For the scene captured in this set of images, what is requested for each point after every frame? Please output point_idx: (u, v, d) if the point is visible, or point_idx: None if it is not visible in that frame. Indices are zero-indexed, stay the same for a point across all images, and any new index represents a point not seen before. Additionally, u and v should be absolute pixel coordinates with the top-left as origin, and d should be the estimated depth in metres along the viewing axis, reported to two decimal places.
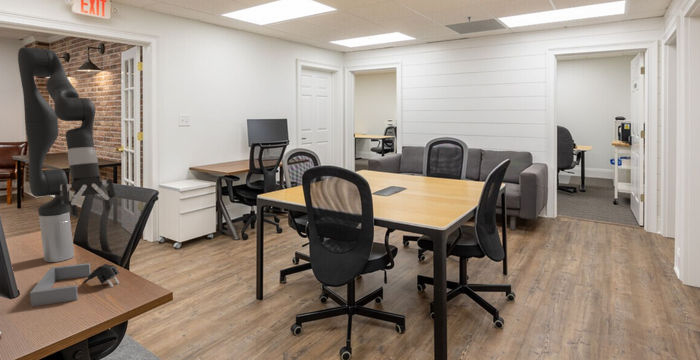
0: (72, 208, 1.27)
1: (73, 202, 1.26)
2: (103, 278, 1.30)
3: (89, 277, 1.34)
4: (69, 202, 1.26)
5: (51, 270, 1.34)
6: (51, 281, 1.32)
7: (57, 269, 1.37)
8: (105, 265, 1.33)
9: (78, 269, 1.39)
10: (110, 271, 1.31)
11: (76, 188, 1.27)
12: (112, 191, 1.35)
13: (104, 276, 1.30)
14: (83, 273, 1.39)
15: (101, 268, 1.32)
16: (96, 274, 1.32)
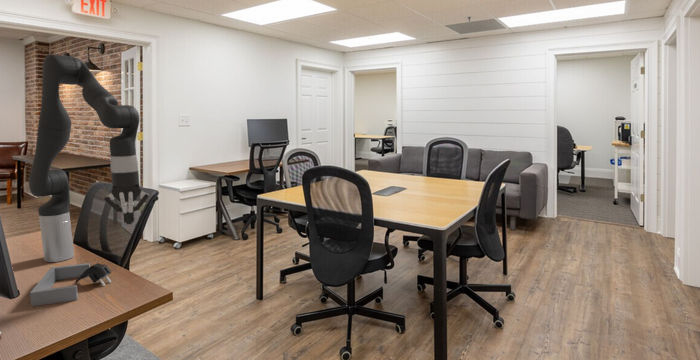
0: (124, 215, 1.33)
1: (125, 210, 1.32)
2: (95, 277, 1.31)
3: (81, 276, 1.34)
4: (122, 210, 1.32)
5: (51, 270, 1.34)
6: (51, 281, 1.32)
7: (57, 269, 1.37)
8: (97, 264, 1.33)
9: (78, 269, 1.39)
10: (102, 270, 1.32)
11: (117, 198, 1.31)
12: (139, 205, 1.33)
13: (96, 275, 1.31)
14: None
15: (94, 267, 1.32)
16: (88, 273, 1.33)
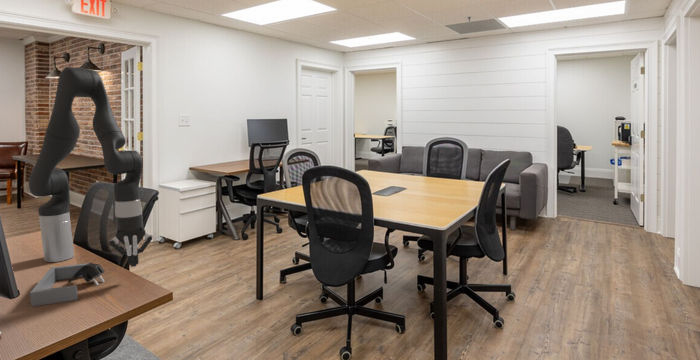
0: (129, 258, 1.35)
1: (129, 253, 1.34)
2: (88, 277, 1.31)
3: (74, 276, 1.35)
4: (126, 253, 1.34)
5: (51, 270, 1.34)
6: (51, 281, 1.32)
7: (57, 269, 1.37)
8: (90, 264, 1.34)
9: (78, 269, 1.39)
10: (95, 270, 1.32)
11: (122, 242, 1.33)
12: (143, 247, 1.36)
13: (89, 275, 1.32)
14: None
15: (87, 267, 1.33)
16: (81, 273, 1.34)
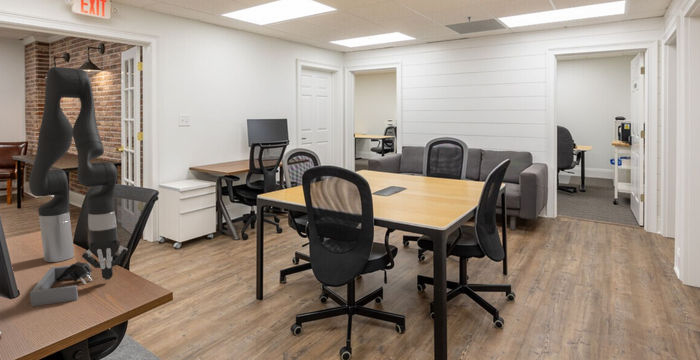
0: (102, 271, 1.33)
1: (103, 266, 1.32)
2: (76, 276, 1.32)
3: (62, 275, 1.35)
4: (100, 265, 1.32)
5: (51, 270, 1.34)
6: (51, 281, 1.32)
7: (57, 269, 1.37)
8: (78, 263, 1.35)
9: None
10: (83, 269, 1.33)
11: (95, 255, 1.31)
12: (118, 260, 1.34)
13: (77, 274, 1.32)
14: None
15: (74, 266, 1.33)
16: (69, 272, 1.34)
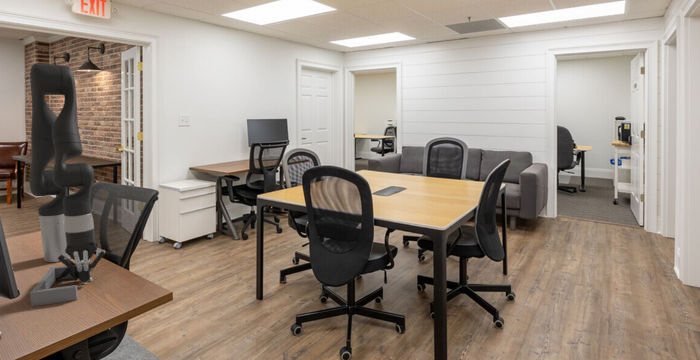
0: (79, 274, 1.30)
1: (80, 269, 1.30)
2: (76, 275, 1.32)
3: (62, 275, 1.35)
4: (77, 268, 1.30)
5: (51, 270, 1.34)
6: (51, 281, 1.32)
7: (57, 269, 1.37)
8: None
9: None
10: None
11: (72, 257, 1.29)
12: (95, 263, 1.31)
13: (77, 273, 1.32)
14: None
15: None
16: (69, 272, 1.34)
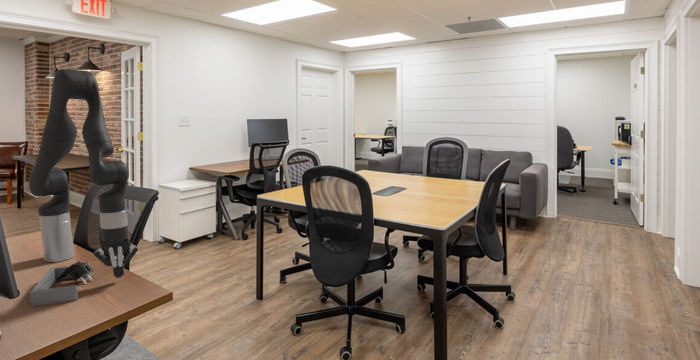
0: (114, 269, 1.34)
1: (114, 264, 1.33)
2: (76, 275, 1.32)
3: (62, 275, 1.35)
4: (111, 264, 1.33)
5: (51, 270, 1.34)
6: (51, 281, 1.32)
7: (57, 269, 1.37)
8: (78, 263, 1.35)
9: None
10: (83, 268, 1.33)
11: (107, 253, 1.32)
12: (129, 259, 1.34)
13: (77, 273, 1.32)
14: None
15: (74, 266, 1.34)
16: (69, 272, 1.34)
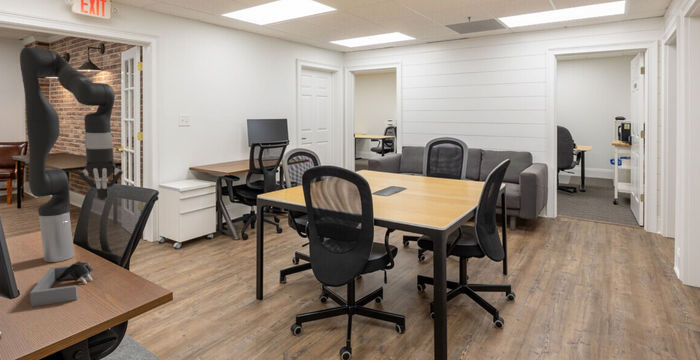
0: (98, 191, 1.36)
1: (98, 186, 1.35)
2: (77, 275, 1.32)
3: (62, 275, 1.35)
4: (96, 185, 1.36)
5: (51, 270, 1.34)
6: (51, 281, 1.32)
7: (57, 269, 1.37)
8: (78, 263, 1.35)
9: None
10: (84, 268, 1.33)
11: (91, 174, 1.34)
12: (113, 181, 1.37)
13: (78, 273, 1.32)
14: None
15: (75, 266, 1.34)
16: (69, 272, 1.34)
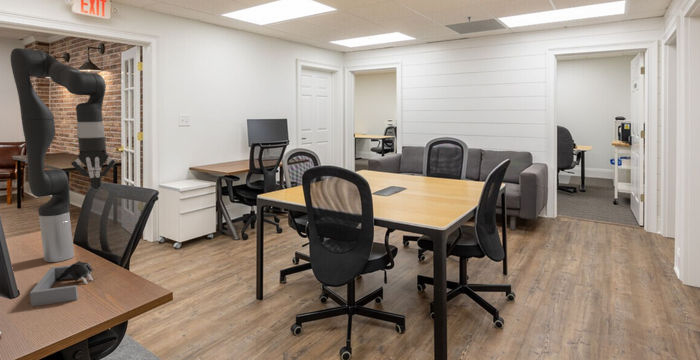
0: (91, 180, 1.37)
1: (92, 175, 1.37)
2: (77, 275, 1.33)
3: (62, 275, 1.35)
4: (89, 175, 1.37)
5: (51, 270, 1.34)
6: (51, 281, 1.32)
7: (57, 269, 1.37)
8: (78, 263, 1.35)
9: None
10: (84, 268, 1.34)
11: (84, 163, 1.36)
12: (106, 170, 1.38)
13: (78, 273, 1.33)
14: None
15: (75, 265, 1.34)
16: (69, 272, 1.34)
